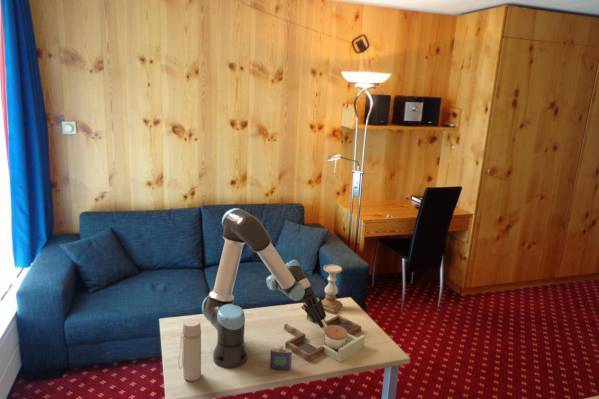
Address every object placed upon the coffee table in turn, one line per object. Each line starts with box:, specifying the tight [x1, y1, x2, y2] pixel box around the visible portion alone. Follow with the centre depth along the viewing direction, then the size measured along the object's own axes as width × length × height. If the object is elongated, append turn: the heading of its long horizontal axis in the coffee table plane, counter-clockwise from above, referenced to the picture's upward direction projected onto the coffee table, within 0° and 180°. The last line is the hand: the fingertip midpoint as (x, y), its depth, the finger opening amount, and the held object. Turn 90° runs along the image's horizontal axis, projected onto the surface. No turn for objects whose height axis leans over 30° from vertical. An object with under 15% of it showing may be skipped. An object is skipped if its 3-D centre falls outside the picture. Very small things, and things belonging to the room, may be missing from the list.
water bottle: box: [177, 317, 202, 382], centre depth 182 cm, size 9×8×25 cm
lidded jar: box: [324, 325, 347, 350], centre depth 212 cm, size 11×11×9 cm
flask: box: [269, 345, 293, 372], centre depth 193 cm, size 9×3×11 cm, turn 87°
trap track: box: [283, 313, 366, 363], centre depth 218 cm, size 36×39×6 cm
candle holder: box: [322, 264, 343, 315], centre depth 247 cm, size 11×11×24 cm
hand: (327, 332), depth 217 cm, fingers closed
